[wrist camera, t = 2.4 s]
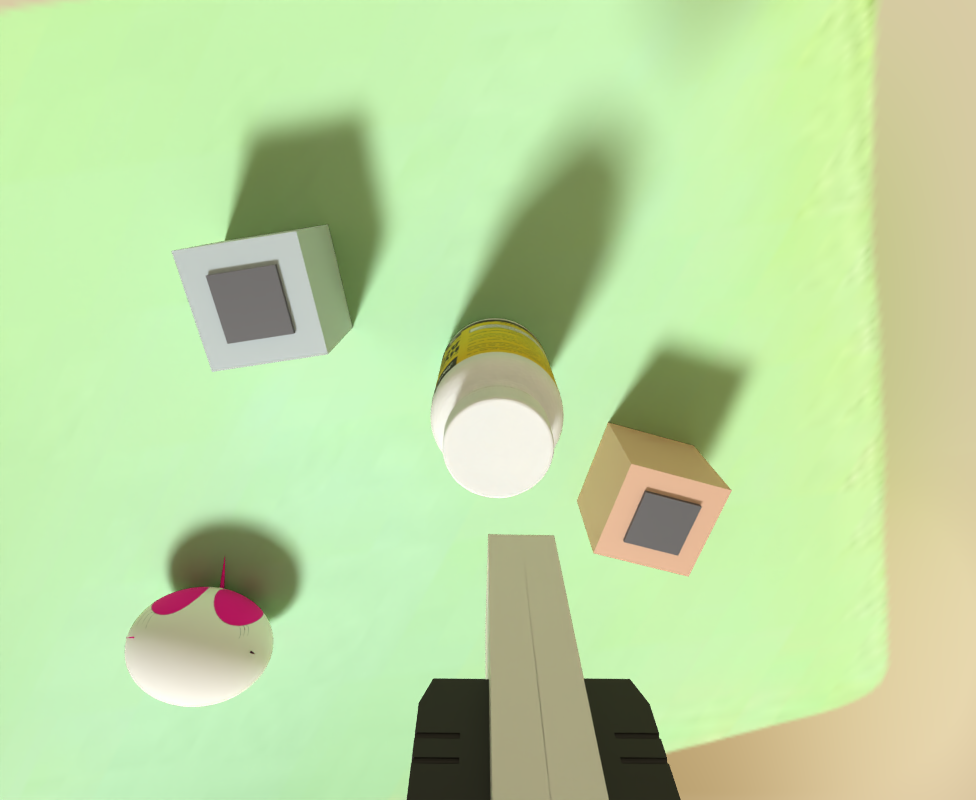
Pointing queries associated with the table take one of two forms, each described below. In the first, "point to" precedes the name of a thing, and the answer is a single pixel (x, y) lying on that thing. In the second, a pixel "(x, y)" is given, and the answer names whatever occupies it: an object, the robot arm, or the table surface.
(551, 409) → the supplement bottle
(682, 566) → the terracotta block
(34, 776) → the table surface
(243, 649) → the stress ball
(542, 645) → the robot arm
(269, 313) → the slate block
